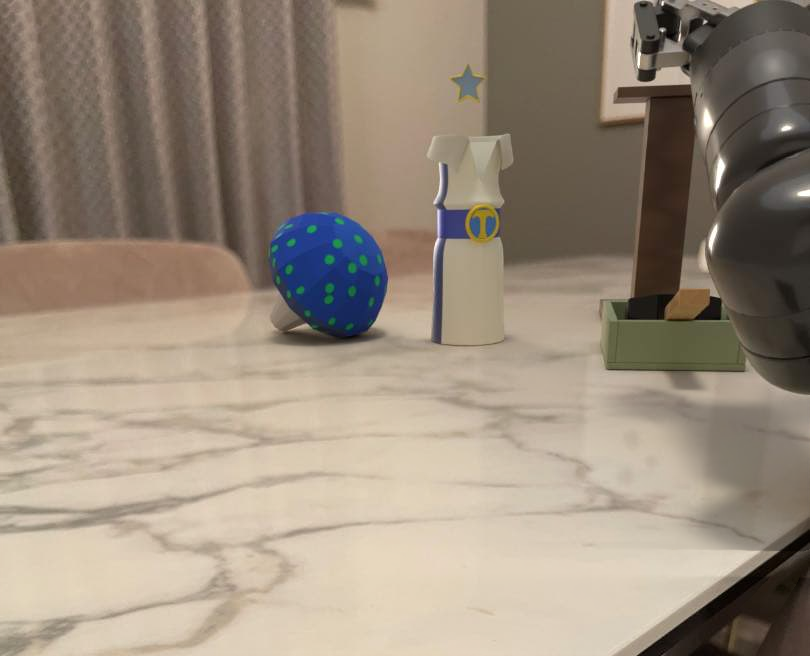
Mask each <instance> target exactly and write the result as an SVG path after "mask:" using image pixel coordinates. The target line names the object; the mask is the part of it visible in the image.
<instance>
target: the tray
mask: <svg viewBox="0 0 810 656" xmlns="http://www.w3.org/2000/svg"><path fill="white" fill-rule="evenodd" d="M626 303H627V301H603V312H602V320H601V328H600V340H599V341H600V345H601V351H602V354H603V359H604V363H605V368H606V370H635V371H636V370H638V371H639V370H640V371H642V370H643V371H645V370H646V371H703V372H704V371H709V372H711V371H712V372H714V371H715V372H719V371H720V372H745V371H746V363H747V358H746V356H745V354H744V351H743V349H742V347H741V345H740V342H739V340H738V338H737V335H736V333H735V331H734V328H733V326H732V324H731V321H730V319H729V317H728V314H727V312H726V310H725V307H724V305H723V303H722V312H721V320H625V305H626Z"/></svg>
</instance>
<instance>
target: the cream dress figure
mask: <svg viewBox="0 0 810 656" xmlns="http://www.w3.org/2000/svg"><path fill="white" fill-rule="evenodd" d="M473 72H474V71H473V70H472V67H471V65H470V62H467V63H466V65H465V68H464V69H463V71H462V74H461V75H455V76H450V77H449V81H451V82H452V83H453V84H454V85H455V86H456V87H457V88H458V93H457V98H456V99H457V100H456V103H457V104H459V103H461V102H464V101H465V100H466V99H471V100H473V101H475V102H477V103H481V102H480V97H479V96H480V95H479V91H478V88H479V87H480V86H481V85H482V84H483V83H484V82H485V81H486V80H487V79H488V77H487V76H484V75H477V74H474V73H473ZM511 139H512V138H511V133H504V134H501V135H499V134H498V135H486V136H484V135H483V136H482V135H479V136H467V135H466V134H462V133H453V134H452V133H451V134H441V135H433V137H432V140H431V143H430V145H429V148H428V151H427V154H426V157H427V159H429V160H430V161H432V162H435V163H438V169H439V185H438V186H439V187H438V192H437V196H436V197H435V199H434V201H433V205H434V207H435V208H436V209H437V237H436V238H437V239H436V240H435V243H434V248H433V255H432V256H433V258H432V263H433V264H432V308H431V309H432V311H431V312H432V313H431V330H430V331H431V332H430V336H431V337H430V340H431V342H433V343H436V344H441V345H449V346H483V345H484V346H485V345H493V344H497V343H500V342H503V341H504V340H505V314H504V312H505V311H504V309H505V308H504V275H505V274H504V272H505V271H504V267H505V265H504V263H505V260H504V259H505V258H504V245H503V242H502V238H501V211H502V210H501V209H502V207H503V205H504V204H505V199H504V198H503V196H502V193H501V190H500V189H501V188H500V183H499V176H500V170H501V171H504V170H506V169H508V168H509V167H511V166H512V165H513V163H514V161H515V158H514V153H513V147H512V140H511Z"/></svg>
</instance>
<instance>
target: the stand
mask: <svg viewBox="0 0 810 656" xmlns="http://www.w3.org/2000/svg"><path fill="white" fill-rule="evenodd" d="M612 97H613V98H612V100H613V101H612V104H613V105H620V104H623V105H624V104H645V110H644V123H643V133H642V134H643V135H642V145H641V161H640V171H639V172H640V173H639V183H638V185H639V186H638V197H637V209H636V210H637V211H636V222H635V232H634V233H635V234H634V244H633V246H634V247H633V259H632V272H631V282H630V283H631V284H630V295H629V298H634V297H640V296H647V295H653V294H677V292H678V291H679V290H680V289H681V279H682V269H683V259H684V250H685V241H686V240H685V239H686V229H687V220H688V219H687V218H688V211H689V210H688V209H689V199H690V190H691V181H692V172H693V162H694V161H693V160H694V151H695V141H696V136H695V128H694V119H695V114H694V106H693V98H692V91H691V83H686V84H683V83H682V84H660V85H635V86H617V87H616V89H615V91H614V93H613V96H612ZM629 298H615V299H614V298H601V299H599V309H598V312H599V315H600V320H601V321H602V312H603V301H628V299H629Z"/></svg>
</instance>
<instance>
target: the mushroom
mask: <svg viewBox="0 0 810 656" xmlns="http://www.w3.org/2000/svg"><path fill="white" fill-rule="evenodd" d="M267 260H268V265H269V270H270V275H271V280H272V283H273V284H274V286H275V287H276V289H277V291H278V292H279V294H278V297H277V300H276V303H275V304H274V307H273V309H272V310H271V312H270V315H269V319H270V322H271V323H272V325H273V327H274V328H275V329H277V331H281V332H282V333H283V332H287V331H290V330H292V329H295V328H298V327H300V326H302V325H308V326H309V327H310V328H311V329H312V330H315V331H317V332H319V333H322V334H325V335H327V336H330V337H332V338H335V339H340V338H348V337H352V336H356V335H359V334H362V333H366V332H368V331H369V329H371V327H372V326H373V325H374V324H375V323H376V321H377V319H378V316H379V314H380V312H381V310H382V307H383V305H384V302H385V298H386V295H387V292H388V283H389V276H388V271H387V266H386V262H385V259H384V255H383V251H382V249H381V248H380V246H379V244H378V243H377V242H376V239H375V238H374V236H372V234H371V233H370V232H369V231H367V229H366V228H365V227H363V226H362V224H360V222H357V221H355V220H353V219H351V218H349V217H348V216H345V215H343V214H340V213H338V212H335V211H334V212H331V211H330V212H329V211H327V212H326V211H325V212H324V211H323V212H322V211H319V212H306V213H302V214H298V215H296V216H294V217H290V218H289V219H287V220H286V221H284V222H283V223H282V224H280V225H279V226H278V228H277V230H276V232H275V233H274V236H273V238H272V239H271V241H270V243H269V249H268V253H267Z"/></svg>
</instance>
